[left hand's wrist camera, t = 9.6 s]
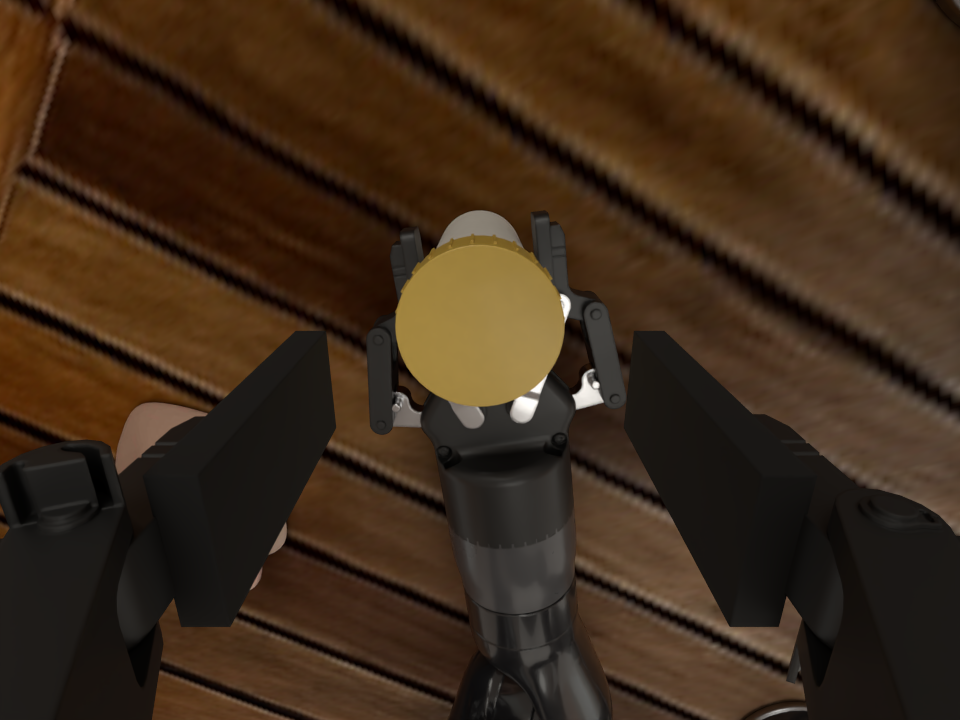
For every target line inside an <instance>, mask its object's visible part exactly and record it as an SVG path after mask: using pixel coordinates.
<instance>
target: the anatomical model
mask: <svg viewBox="0 0 960 720" xmlns="http://www.w3.org/2000/svg"><path fill="white" fill-rule="evenodd" d="M207 414H208V413H205V412H201V411H198V410H194V409H191V408H187V407H182V406H178V405H173V404H166V403H156V402H153V403H145V404H141V405H139V406H137V407H136V408H135V409H134V410H133V411H132V412H131V414H130V415H129V417H128V419H127V421H126V423H125V426H124V429H123V432H122V435H121V438H120V441H119V444H118V448H117V455H116V464H115V466H116V469H117V473H118V475H119V474H120V473H121V472H122V471H123V470H124V469H125V468H127V467H128V466H129V465H130V464H131V463H132V462H133V461H135V460H136V459H137V458H141V454H143V453H144V452H145V451H146V450H147V449H148V448H149V447H151V446H152V445H155V442H156V441H157V440H159V439H160V438H161V437H162V436H163V435H164V434H165V433H166V432H168V431H169V430H170V429H171V428H173V427H175V426H177V425H179V424H181V423H183V422H185V421H187V420H189V419H191V418H193V417H195V416H206V415H207ZM286 535H287V526H286V523H285V525H284V527H283V528H282V530H281V532H280V534H279V536H278V538H277V540H276V542H275V544H274V545H273V547H272V549H271V551H270V553H269V555H270V554H272V553H274V552H276V551H277V550H278V549H280V548H281V547H282V545H283V544H284V542H285V540H286ZM261 574H262V568H261V570H260V572H259V574H258V575H257V577H256V579H255V581H254V583H253V585H252V587H251V589H253V588H254V587H255V586H256V585H257V584H258V582H259V580H260V578H261ZM251 589H250V590H251Z"/></svg>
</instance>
